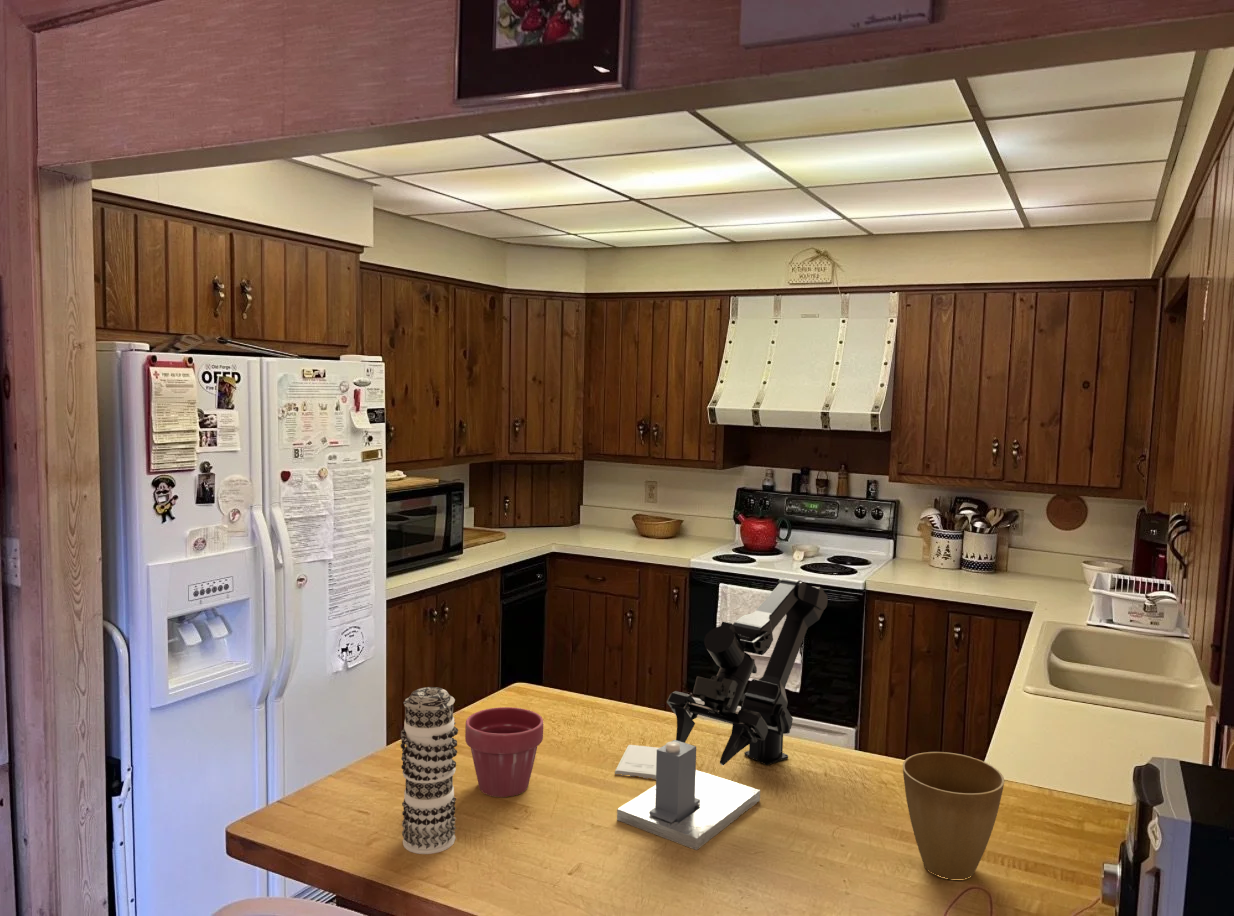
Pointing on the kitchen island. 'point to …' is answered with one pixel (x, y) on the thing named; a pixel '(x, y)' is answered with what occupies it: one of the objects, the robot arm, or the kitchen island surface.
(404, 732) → the decorative candle
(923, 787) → the plant pot
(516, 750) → the plant pot
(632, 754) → the external hard drive
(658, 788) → the block
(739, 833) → the kitchen island surface
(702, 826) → the plate
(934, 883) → the kitchen island surface
